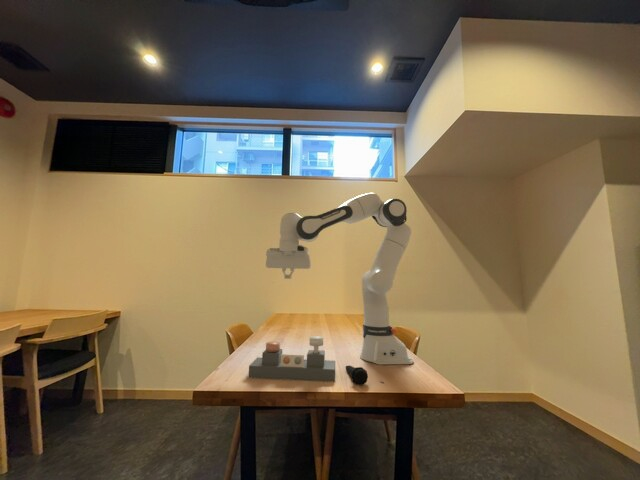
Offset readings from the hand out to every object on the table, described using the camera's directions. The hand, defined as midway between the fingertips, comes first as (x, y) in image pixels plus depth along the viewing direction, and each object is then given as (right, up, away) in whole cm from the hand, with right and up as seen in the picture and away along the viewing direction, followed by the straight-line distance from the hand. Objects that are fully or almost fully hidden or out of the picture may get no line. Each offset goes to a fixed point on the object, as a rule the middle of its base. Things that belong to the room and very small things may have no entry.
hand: (287, 278), depth 124 cm
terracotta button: (-3, -26, -24) cm, 36 cm away
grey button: (+13, -24, -24) cm, 37 cm away
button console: (+5, -31, -25) cm, 40 cm away
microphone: (+27, -32, -25) cm, 49 cm away
